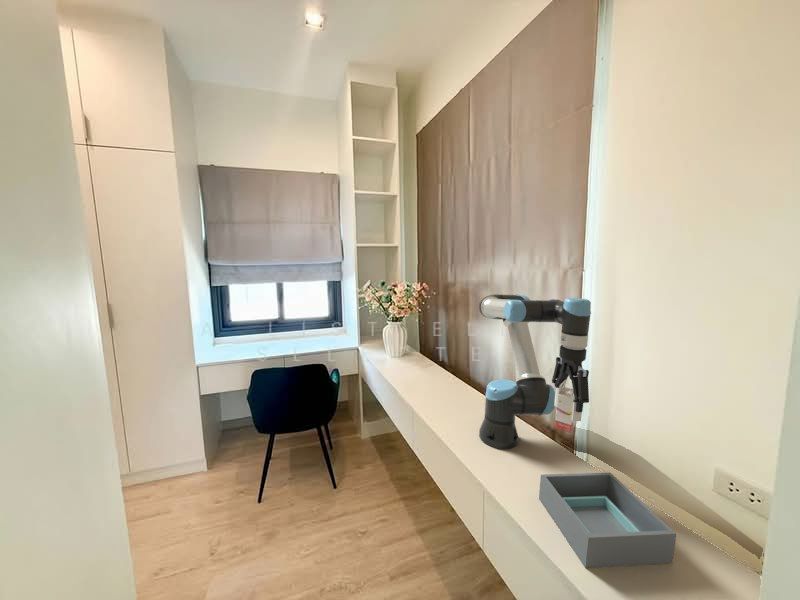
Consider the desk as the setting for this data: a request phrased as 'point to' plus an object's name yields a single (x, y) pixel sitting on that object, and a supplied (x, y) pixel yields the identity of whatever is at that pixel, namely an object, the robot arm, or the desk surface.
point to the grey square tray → (605, 521)
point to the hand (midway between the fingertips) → (566, 413)
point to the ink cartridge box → (564, 409)
